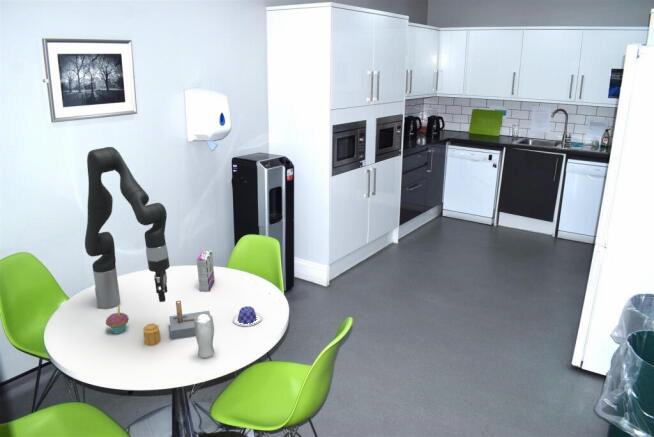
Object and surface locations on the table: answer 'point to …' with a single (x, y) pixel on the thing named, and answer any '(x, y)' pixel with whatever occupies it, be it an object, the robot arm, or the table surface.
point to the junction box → (184, 325)
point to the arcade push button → (151, 334)
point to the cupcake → (117, 321)
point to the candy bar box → (205, 270)
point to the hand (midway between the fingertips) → (163, 296)
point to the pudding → (246, 316)
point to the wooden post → (179, 311)
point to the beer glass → (204, 335)
